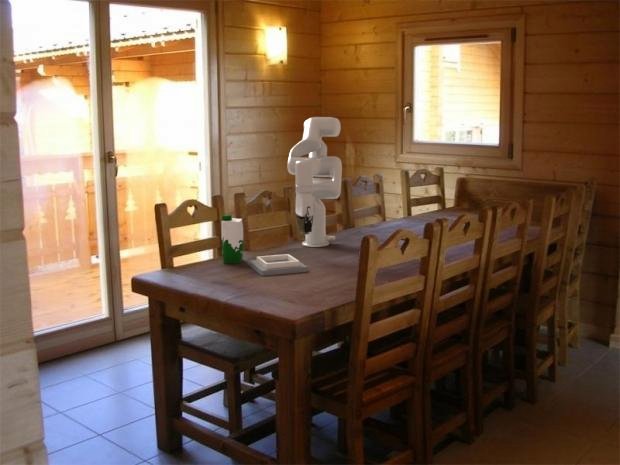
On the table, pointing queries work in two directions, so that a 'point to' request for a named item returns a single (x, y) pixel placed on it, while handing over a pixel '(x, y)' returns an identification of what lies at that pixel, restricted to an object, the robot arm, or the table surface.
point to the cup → (302, 224)
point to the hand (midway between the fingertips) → (304, 229)
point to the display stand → (277, 265)
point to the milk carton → (232, 239)
